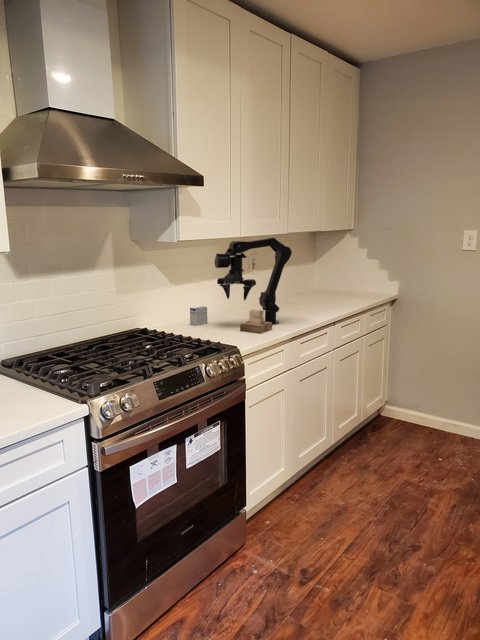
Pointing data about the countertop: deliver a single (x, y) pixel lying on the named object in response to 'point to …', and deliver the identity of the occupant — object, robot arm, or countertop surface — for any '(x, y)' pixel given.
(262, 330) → the walnut block
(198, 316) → the box
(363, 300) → the countertop surface
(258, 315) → the maple block
